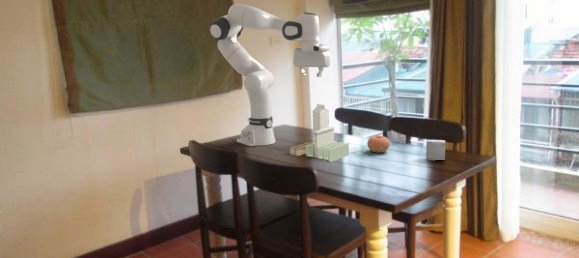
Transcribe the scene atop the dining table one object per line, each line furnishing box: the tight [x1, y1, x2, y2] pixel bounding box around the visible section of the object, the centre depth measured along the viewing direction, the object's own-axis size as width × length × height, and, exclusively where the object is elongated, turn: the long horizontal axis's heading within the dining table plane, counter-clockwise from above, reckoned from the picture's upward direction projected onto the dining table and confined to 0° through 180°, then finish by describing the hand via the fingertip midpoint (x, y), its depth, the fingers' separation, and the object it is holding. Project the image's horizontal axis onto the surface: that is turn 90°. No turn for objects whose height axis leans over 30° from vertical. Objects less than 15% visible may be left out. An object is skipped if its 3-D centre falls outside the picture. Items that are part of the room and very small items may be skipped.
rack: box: [305, 140, 350, 163], centre depth 224 cm, size 14×15×6 cm
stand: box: [289, 141, 313, 157], centre depth 231 cm, size 6×16×4 cm, turn 138°
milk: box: [312, 103, 330, 143], centre depth 241 cm, size 6×6×22 cm
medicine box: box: [425, 139, 446, 161], centre depth 212 cm, size 8×4×9 cm, turn 71°
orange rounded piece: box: [366, 135, 391, 154], centre depth 229 cm, size 11×11×8 cm
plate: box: [314, 126, 335, 158], centre depth 224 cm, size 2×13×12 cm, turn 138°
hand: (311, 76), depth 227 cm, fingers open, 8 cm apart
